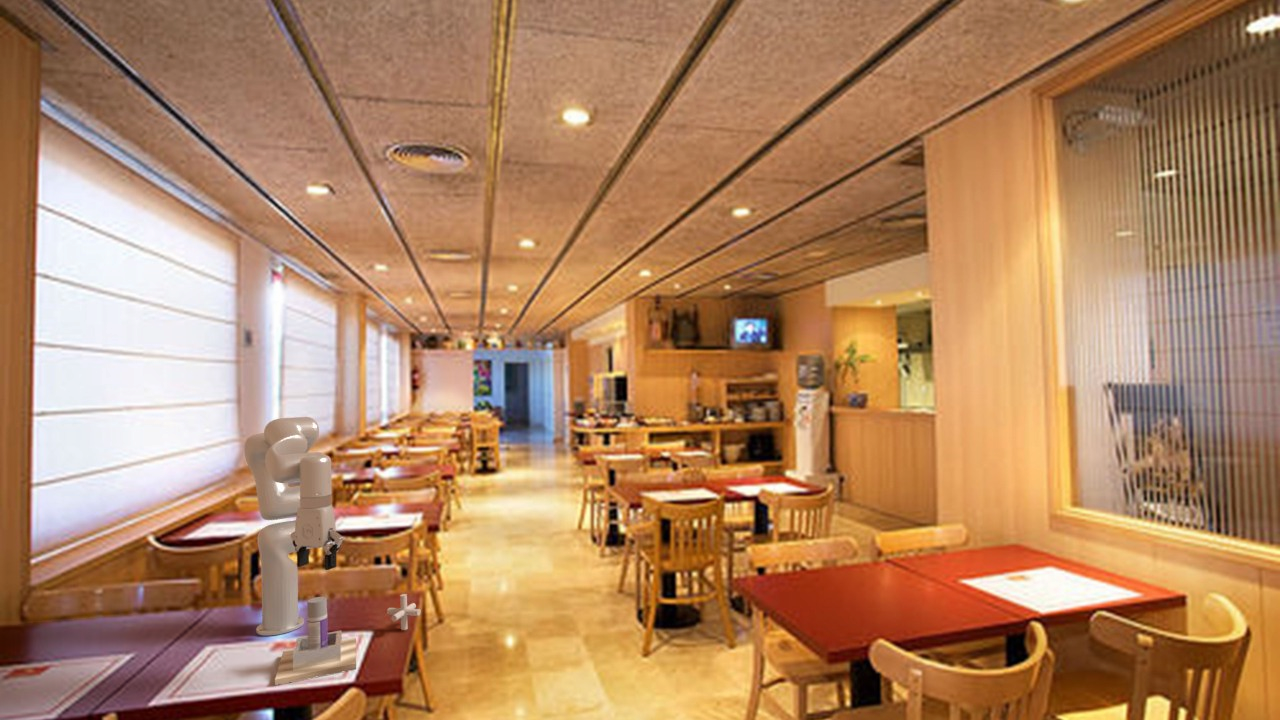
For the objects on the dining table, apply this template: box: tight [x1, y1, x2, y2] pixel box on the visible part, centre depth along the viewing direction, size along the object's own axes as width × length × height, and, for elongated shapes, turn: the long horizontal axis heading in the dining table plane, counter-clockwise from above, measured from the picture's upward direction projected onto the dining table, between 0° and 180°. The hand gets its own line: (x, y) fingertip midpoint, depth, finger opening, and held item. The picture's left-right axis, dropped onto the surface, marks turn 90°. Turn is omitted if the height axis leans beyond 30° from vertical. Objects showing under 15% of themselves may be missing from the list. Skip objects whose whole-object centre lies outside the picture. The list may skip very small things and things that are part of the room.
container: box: [306, 596, 329, 649], centre depth 163 cm, size 5×5×15 cm
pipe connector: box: [386, 593, 422, 631], centre depth 184 cm, size 10×10×10 cm
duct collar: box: [293, 630, 343, 670], centre depth 163 cm, size 11×11×4 cm
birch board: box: [274, 637, 357, 686], centre depth 163 cm, size 18×18×2 cm
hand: (316, 566), depth 164 cm, fingers open, 9 cm apart
